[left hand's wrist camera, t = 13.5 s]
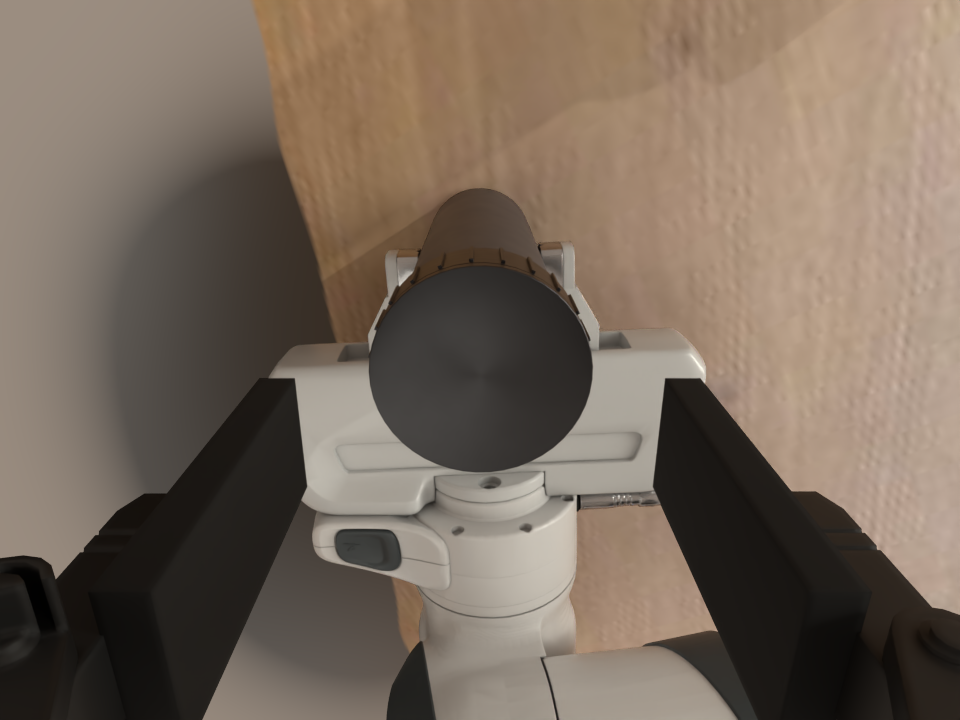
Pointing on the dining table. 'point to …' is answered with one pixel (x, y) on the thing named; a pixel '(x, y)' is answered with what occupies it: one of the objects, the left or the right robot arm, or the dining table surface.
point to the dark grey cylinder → (480, 226)
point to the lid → (480, 361)
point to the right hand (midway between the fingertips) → (478, 247)
